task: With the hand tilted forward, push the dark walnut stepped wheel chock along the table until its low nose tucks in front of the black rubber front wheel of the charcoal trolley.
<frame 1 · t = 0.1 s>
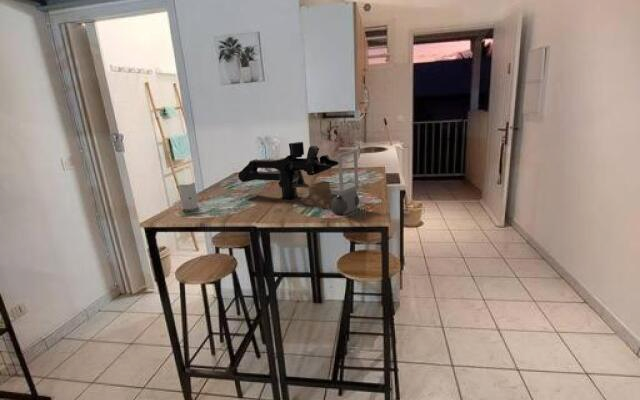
hand: (335, 165, 154), 17 cm above the table, tool horizontal, fingers open, 9 cm apart
trolley: (351, 208, 146), on the table
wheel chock: (322, 203, 156), on the table
door stopper: (296, 185, 195), on the table
skincare box: (191, 208, 163), on the table
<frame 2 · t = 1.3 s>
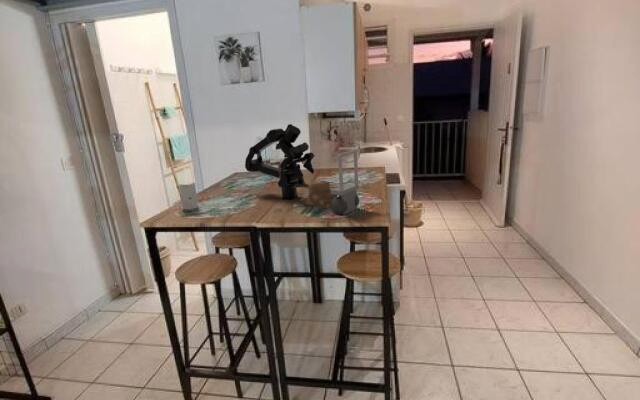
hand: (308, 174, 157), 13 cm above the table, tool tilted 45°, fingers open, 7 cm apart
nothing on the table moved.
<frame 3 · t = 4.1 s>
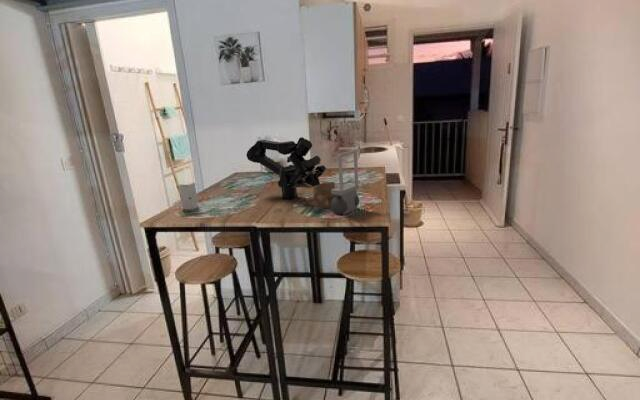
hand: (320, 188, 155), 7 cm above the table, tool tilted 45°, fingers closed
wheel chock: (327, 203, 154), on the table
everything else where it was.
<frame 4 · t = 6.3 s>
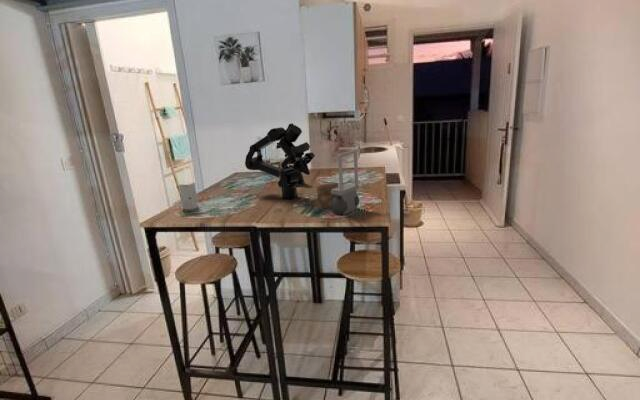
hand: (309, 174, 157), 13 cm above the table, tool tilted 45°, fingers closed
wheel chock: (330, 204, 153), on the table
everything else where it was.
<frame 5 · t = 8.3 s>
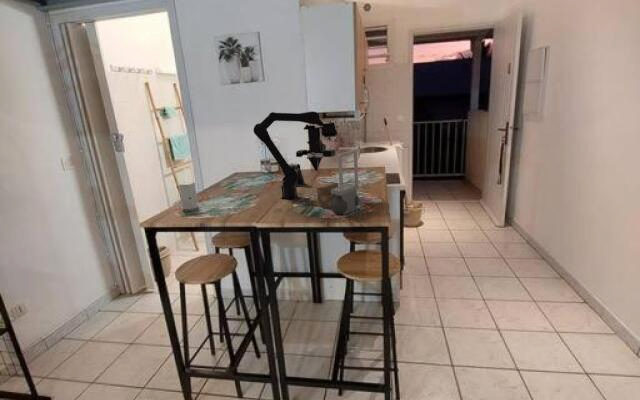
hand: (316, 170, 168), 12 cm above the table, tool pointing down, fingers closed
nothing on the table moved.
at the end: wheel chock 11.4 cm from the trolley (horizontally); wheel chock tilted 0°; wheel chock moved 4.8 cm from its start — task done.
